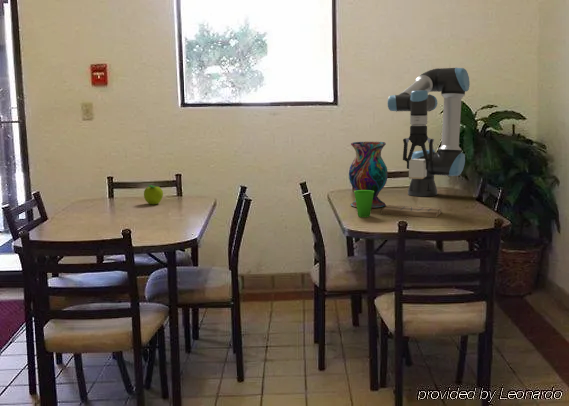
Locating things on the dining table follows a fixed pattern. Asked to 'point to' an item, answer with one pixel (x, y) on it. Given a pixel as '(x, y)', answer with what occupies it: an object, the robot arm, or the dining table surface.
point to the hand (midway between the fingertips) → (417, 176)
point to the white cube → (416, 169)
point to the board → (411, 211)
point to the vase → (368, 170)
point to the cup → (364, 202)
